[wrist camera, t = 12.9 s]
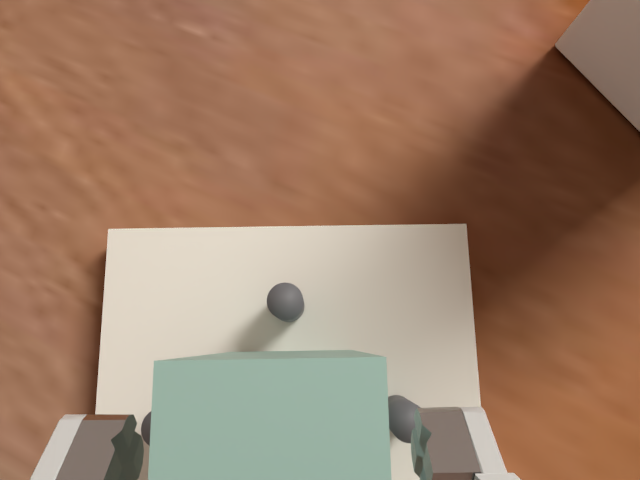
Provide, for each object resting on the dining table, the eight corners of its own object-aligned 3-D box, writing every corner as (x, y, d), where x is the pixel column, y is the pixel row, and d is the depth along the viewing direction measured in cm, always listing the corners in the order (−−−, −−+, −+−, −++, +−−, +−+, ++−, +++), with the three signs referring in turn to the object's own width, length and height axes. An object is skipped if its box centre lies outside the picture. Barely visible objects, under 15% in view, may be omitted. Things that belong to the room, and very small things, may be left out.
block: (351, 349, 18) (386, 357, 10) (355, 479, 18) (397, 618, 9) (230, 351, 18) (154, 360, 10) (228, 482, 17) (140, 624, 9)
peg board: (455, 232, 21) (488, 206, 17) (483, 605, 18) (530, 677, 14) (122, 236, 21) (78, 212, 17) (98, 615, 18) (38, 692, 14)
